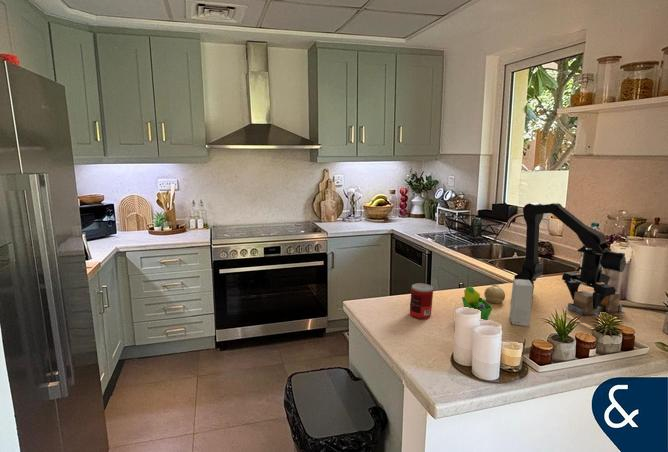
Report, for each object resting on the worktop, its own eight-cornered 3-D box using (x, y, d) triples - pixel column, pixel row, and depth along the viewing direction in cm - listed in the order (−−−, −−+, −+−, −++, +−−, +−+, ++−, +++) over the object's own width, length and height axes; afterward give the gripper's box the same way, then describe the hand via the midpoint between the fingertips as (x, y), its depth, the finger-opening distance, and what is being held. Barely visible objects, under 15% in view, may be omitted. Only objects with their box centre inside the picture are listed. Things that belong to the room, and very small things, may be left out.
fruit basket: (492, 322, 145) (495, 291, 143) (468, 321, 145) (471, 291, 143) (479, 309, 157) (482, 281, 154) (456, 309, 156) (459, 281, 154)
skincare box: (529, 327, 142) (534, 286, 139) (510, 324, 144) (515, 284, 141) (525, 318, 150) (530, 279, 147) (508, 315, 152) (512, 277, 149)
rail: (583, 319, 151) (585, 310, 150) (563, 309, 159) (565, 301, 158) (624, 315, 156) (626, 306, 156) (603, 306, 165) (604, 298, 164)
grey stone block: (584, 314, 153) (587, 296, 151) (572, 308, 158) (575, 291, 157) (595, 313, 154) (598, 295, 153) (583, 307, 159) (586, 290, 158)
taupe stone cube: (606, 312, 156) (609, 294, 154) (594, 306, 161) (596, 290, 160) (617, 311, 157) (620, 293, 156) (605, 305, 162) (607, 289, 161)
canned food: (431, 313, 151) (434, 284, 149) (429, 321, 144) (432, 291, 142) (411, 309, 154) (413, 281, 152) (407, 317, 146) (410, 288, 144)
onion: (508, 303, 165) (510, 286, 163) (496, 306, 160) (498, 289, 159) (491, 296, 171) (492, 280, 170) (479, 300, 167) (481, 283, 165)
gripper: (630, 271, 146) (623, 312, 149) (586, 257, 164) (580, 294, 167) (606, 273, 143) (599, 315, 146) (563, 259, 161) (558, 296, 163)
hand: (584, 304), depth 156 cm, fingers open, 9 cm apart
